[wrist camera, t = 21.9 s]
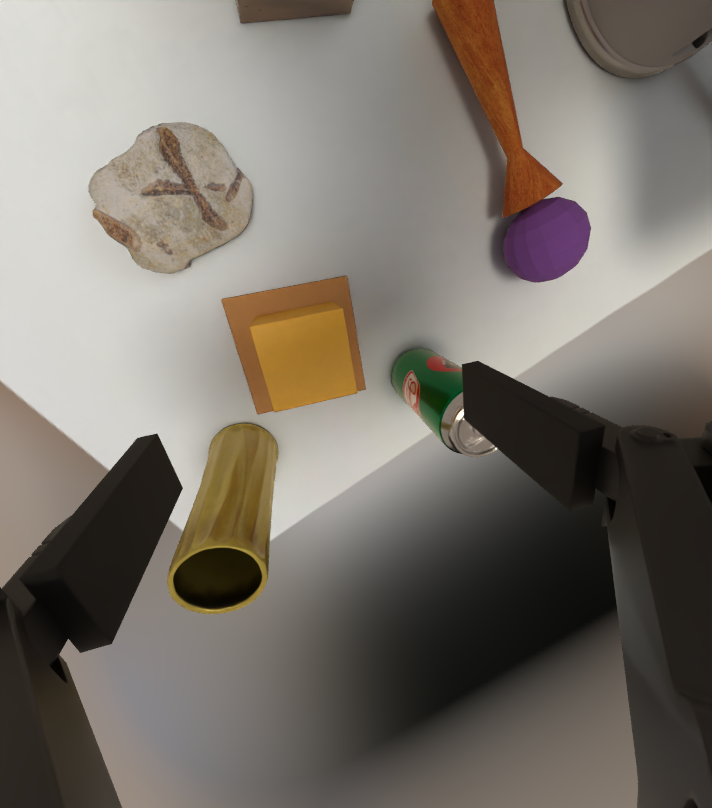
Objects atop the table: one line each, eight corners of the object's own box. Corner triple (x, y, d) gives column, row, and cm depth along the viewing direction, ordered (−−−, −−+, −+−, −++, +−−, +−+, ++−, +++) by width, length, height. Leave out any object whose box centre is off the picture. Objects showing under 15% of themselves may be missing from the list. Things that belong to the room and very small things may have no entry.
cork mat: (346, 275, 28) (347, 275, 27) (364, 388, 32) (365, 389, 31) (222, 299, 26) (221, 299, 26) (257, 412, 30) (257, 414, 30)
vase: (197, 463, 31) (137, 605, 18) (229, 411, 30) (190, 522, 17) (257, 488, 33) (242, 630, 20) (290, 440, 32) (296, 558, 19)
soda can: (382, 360, 31) (437, 411, 20) (432, 337, 31) (513, 376, 20) (399, 405, 33) (457, 474, 22) (445, 384, 33) (526, 442, 22)
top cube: (332, 301, 28) (342, 308, 23) (346, 374, 30) (357, 393, 26) (254, 316, 27) (249, 326, 22) (275, 390, 30) (274, 412, 25)
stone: (196, 104, 22) (185, 84, 19) (270, 213, 25) (268, 207, 22) (82, 195, 22) (57, 186, 20) (168, 291, 25) (156, 294, 23)
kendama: (530, -95, 18) (618, 249, 25) (463, 2, 24) (551, 263, 31) (447, -52, 18) (562, 292, 25) (398, 39, 23) (503, 298, 30)
